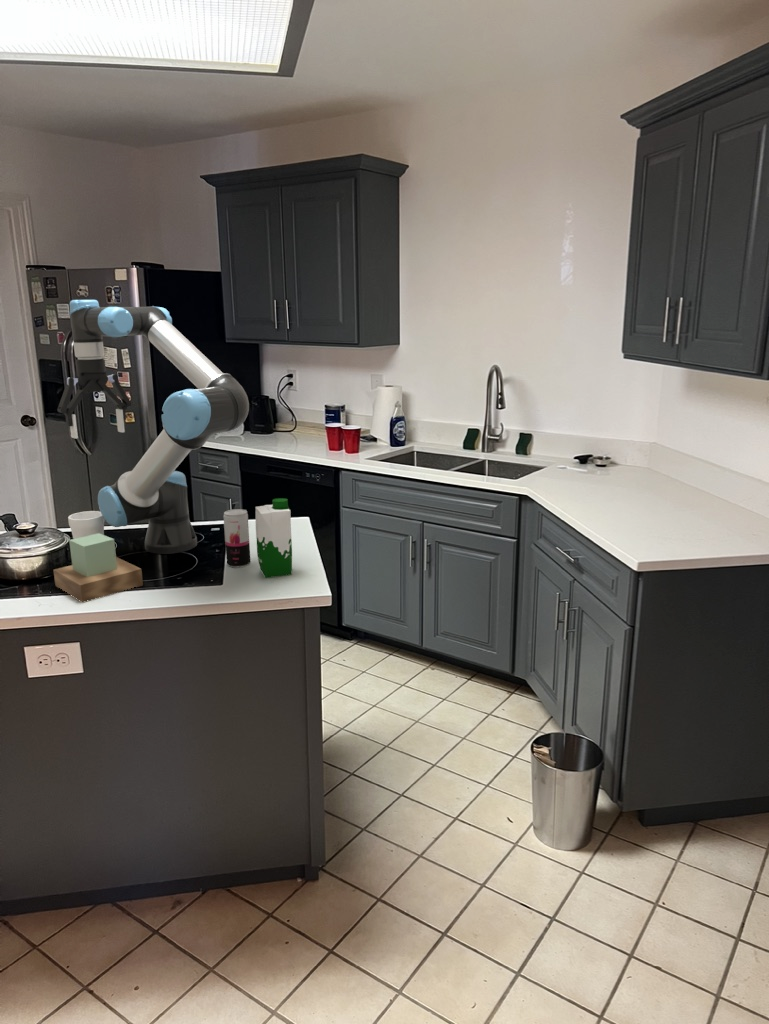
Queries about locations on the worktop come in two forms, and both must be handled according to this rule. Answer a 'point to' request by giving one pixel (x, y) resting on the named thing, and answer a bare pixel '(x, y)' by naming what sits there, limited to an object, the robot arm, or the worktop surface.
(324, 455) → the worktop surface
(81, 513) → the foam cup
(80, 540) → the sage cube
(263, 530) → the milk carton
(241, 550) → the beverage can
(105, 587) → the walnut block
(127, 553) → the worktop surface
